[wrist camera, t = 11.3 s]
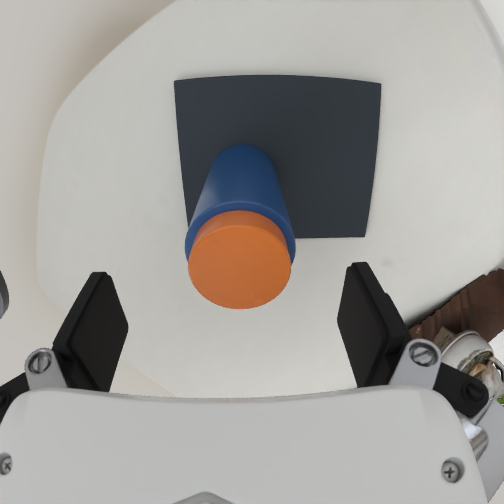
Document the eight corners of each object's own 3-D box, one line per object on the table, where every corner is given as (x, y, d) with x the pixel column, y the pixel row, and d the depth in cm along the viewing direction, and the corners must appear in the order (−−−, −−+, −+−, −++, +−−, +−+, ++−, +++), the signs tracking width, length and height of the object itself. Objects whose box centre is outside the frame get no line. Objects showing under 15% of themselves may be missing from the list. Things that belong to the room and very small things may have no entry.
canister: (212, 206, 25) (188, 316, 14) (208, 145, 23) (169, 218, 12) (275, 204, 25) (296, 314, 14) (275, 143, 23) (304, 214, 12)
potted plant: (369, 326, 38) (484, 461, 14) (462, 240, 36) (601, 303, 12) (411, 395, 43) (487, 494, 19) (486, 324, 42) (577, 394, 18)
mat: (191, 238, 28) (190, 241, 27) (175, 80, 20) (173, 80, 20) (363, 234, 28) (365, 237, 27) (378, 83, 20) (381, 83, 20)
